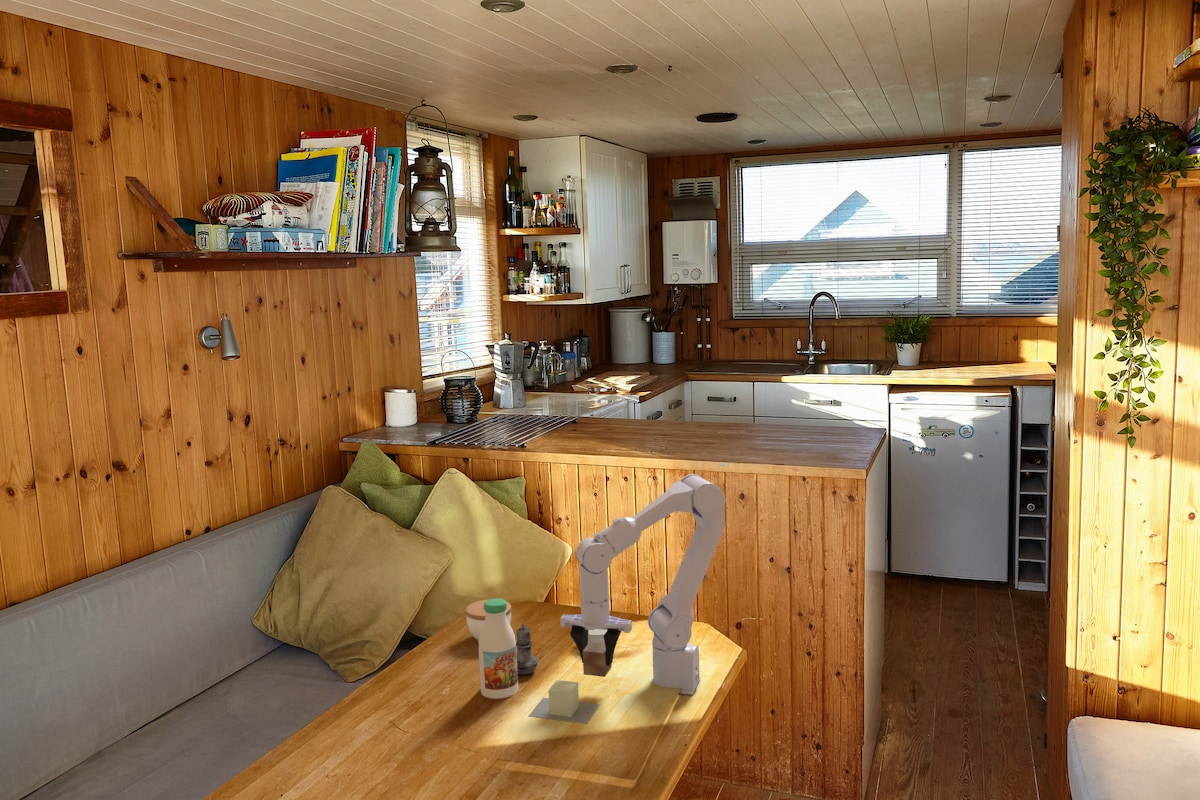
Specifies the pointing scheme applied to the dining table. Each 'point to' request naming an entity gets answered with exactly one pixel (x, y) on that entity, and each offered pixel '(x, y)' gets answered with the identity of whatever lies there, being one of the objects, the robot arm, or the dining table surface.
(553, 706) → the sage block
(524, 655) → the grey chess piece
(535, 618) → the dining table surface
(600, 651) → the walnut block
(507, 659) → the milk bottle
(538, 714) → the plate
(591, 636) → the ramekin
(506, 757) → the dining table surface
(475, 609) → the lidded jar
